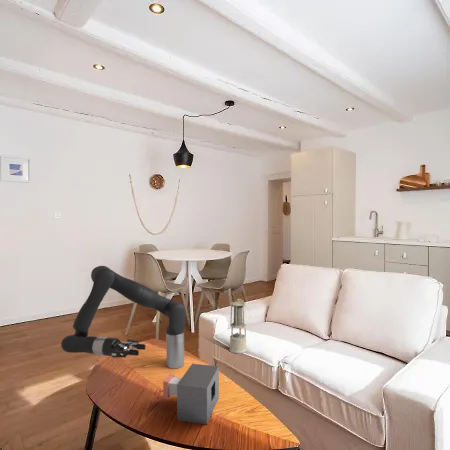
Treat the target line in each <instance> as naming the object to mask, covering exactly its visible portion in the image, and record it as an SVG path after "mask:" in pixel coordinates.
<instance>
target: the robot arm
mask: <svg viewBox="0 0 450 450" xmlns="http://www.w3.org/2000/svg"><path fill="white" fill-rule="evenodd" d="M90 278H91V282H93V283H92V287H91V291H90V292H89V296H88V297H87V298H86V300H85V301H84V303H83V304H82V305H81V307H80V309H79V311H78V313H77V315H76V317H75V320H74V321H73V324H72V328H73V330H74V331H75V332H74V334H70V335H66V336H65V337H64V338H63V339H62V341H61V343H60V347H61V348H62V350H63V351H64V352H66V353H73V354H74V353H76V354H77V353H78V354H80V353H85V354H86V353H87V354H92V355H93V354H94V355H99V356H105V357H111V358H127V357H129V356H135V357H136V356H137V357H138V356H139V355H140V351H141V350H143V351H144V350H146V347H147V345H146V344H145V343H139V340H135V339H130V338H127V340H126V341H120V339H119V338H118V337H109V336H95V335H94V336H92V335H91V336H88V335H89V329H90V326H91V325H92V322H93V320H94V318H95V316H96V313H97V311H98V309H99V307H100V305H101V303H102V301H103V299H104V298H105V296H106V295H107V293H108V292H109V289H111V290H113V291H115V292H117V293H118V294H120V295H121V296H122V297H124V298H126V299H128V300H129V301H131V302H132V303H135V304H137V305H139V306H141V307H146V308H149V309H154V310H156V311H158V312H159V313H161V314H162V315H164V316H165V317H167V318H168V326H166V328H165V331H166V332H165V338H166V349H165V351H166V367H167V368H169V369H179V368H182V367H184V365H185V328H186V318H187V317H186V316H187V315H186V314H187V312H186V308H185V306H184V305H183V304H182V303H180V302H178V301H177V300H173V299H170V298H168V297H164V296H162V295H160V294H159V293H158V292H157V291H155V290H154V289H152V288H149V287H148V286H146V285H144V284H142V283H140V282H137V281H135V280H132V279H129V278H127V277H125V276H122V275H120V274H119V273H117V272H115V270H112V269H111V268H110V267H108V266H105V265H98V266H96V267H94V268H92V270H91V274H90Z"/></svg>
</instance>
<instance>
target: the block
mask: <svg viewBox="0 0 450 450" xmlns="http://www.w3.org/2000/svg"><path fill="white" fill-rule="evenodd" d="M219 370H220V368H219V366H217V365H210V364H201V363H191V364H190V366H189V368H188V369H187V370H186V371H185V373H184V375H182V377H181V378H182V379H181V380H180V381H179V383H178V384H177V396H176V403H177V404H176V413H177V414H176V415H177V416H176V419H177V421H183V422H189V423H194V424H199V425H200V424H201V425H208V424H209V421H210V419H211V417H212V415H211V414H213V413H214V410H215V408H216V406H217V404H218V401H219V399H220V375H219V374H220V371H219ZM216 403H217V404H216ZM215 405H216V406H215ZM214 407H215V408H214ZM213 409H214V410H213ZM212 412H213V413H212ZM210 416H211V417H210Z"/></svg>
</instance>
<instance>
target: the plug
mask: <svg viewBox="0 0 450 450" xmlns="http://www.w3.org/2000/svg"><path fill="white" fill-rule="evenodd" d="M181 379H182V377H176V376H175V373H172V372H170V373H169V374H168V375H167V376H166V377H165V379H164V380H163V381H162V382H163V383H162V390H163V391H162V395H163V396H162V397H163V399H165V400H166V399H167V400H169V398H170V397H171V396H174V397H177V384H178V383H179V381H180V380H181Z"/></svg>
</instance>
